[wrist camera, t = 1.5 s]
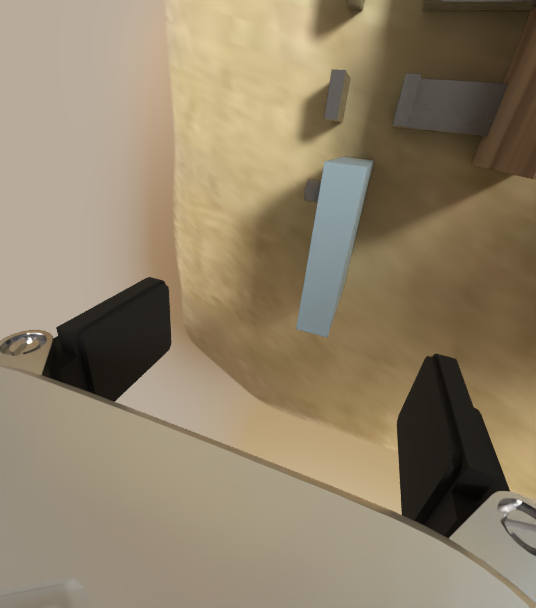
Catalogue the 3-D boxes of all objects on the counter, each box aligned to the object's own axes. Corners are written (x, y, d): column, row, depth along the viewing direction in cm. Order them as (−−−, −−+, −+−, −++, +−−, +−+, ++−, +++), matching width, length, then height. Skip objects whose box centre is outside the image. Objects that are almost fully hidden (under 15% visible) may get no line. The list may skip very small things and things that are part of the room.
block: (374, 160, 26) (367, 167, 17) (343, 286, 32) (327, 337, 23) (331, 155, 27) (304, 159, 18) (308, 279, 33) (281, 325, 24)
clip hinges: (556, -58, 18) (584, -91, 15) (482, 135, 23) (494, 134, 20) (358, -50, 21) (354, -77, 18) (330, 121, 26) (323, 118, 23)
